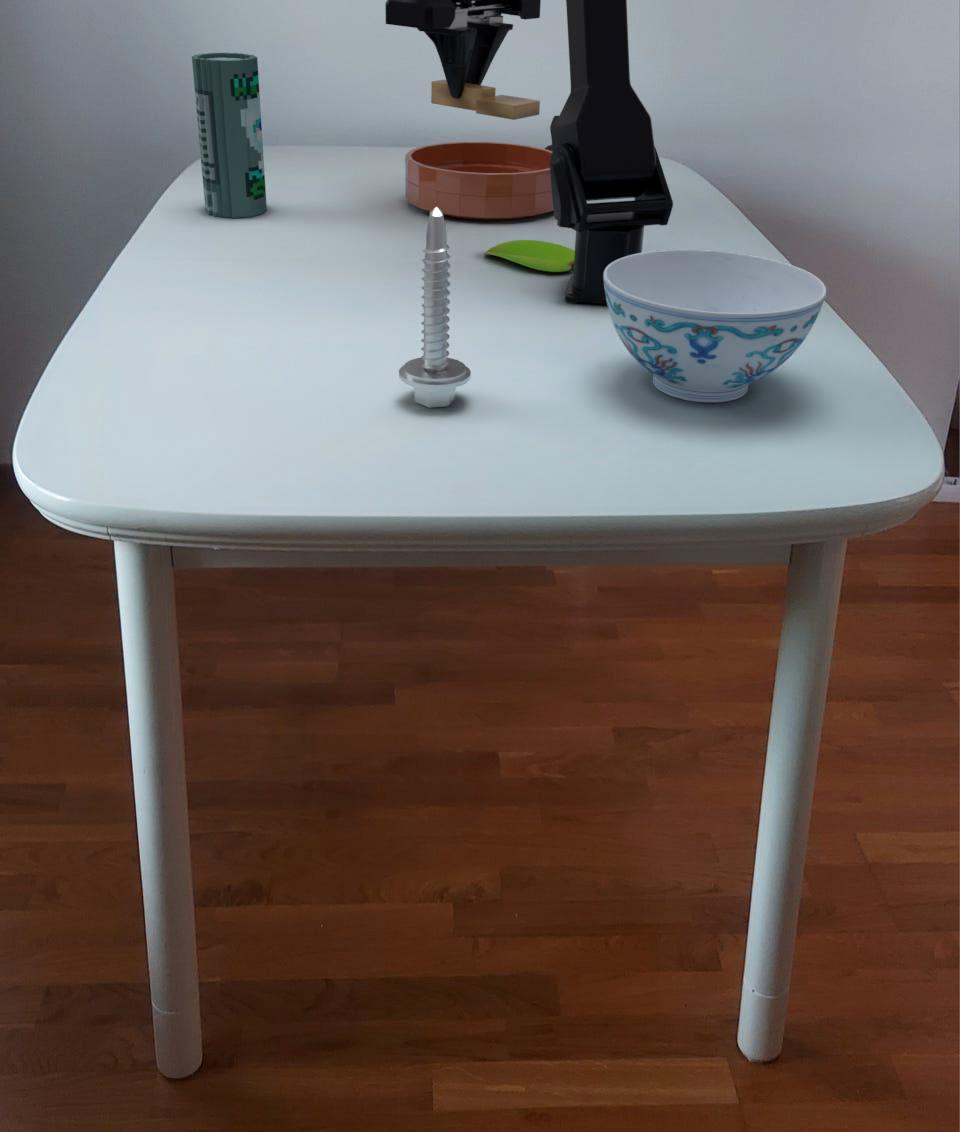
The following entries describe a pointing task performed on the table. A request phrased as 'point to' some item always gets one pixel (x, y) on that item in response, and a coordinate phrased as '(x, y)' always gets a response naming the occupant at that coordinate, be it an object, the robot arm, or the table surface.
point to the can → (230, 134)
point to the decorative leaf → (536, 254)
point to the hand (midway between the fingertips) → (463, 96)
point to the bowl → (480, 180)
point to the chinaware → (710, 317)
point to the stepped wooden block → (484, 101)
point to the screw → (435, 327)
